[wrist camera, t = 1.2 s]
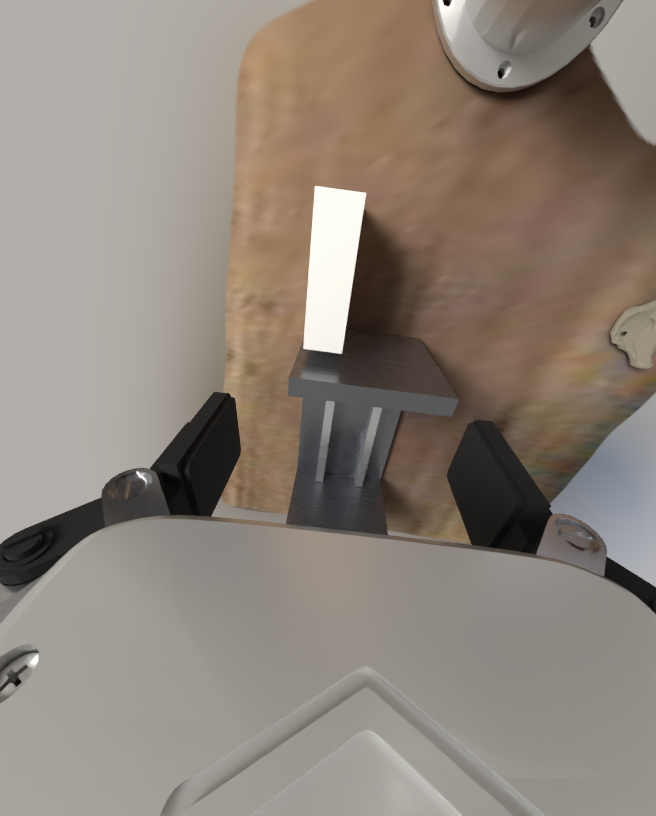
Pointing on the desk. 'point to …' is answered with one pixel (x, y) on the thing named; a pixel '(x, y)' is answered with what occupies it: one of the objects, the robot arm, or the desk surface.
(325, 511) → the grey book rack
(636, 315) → the jawbone
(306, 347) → the door
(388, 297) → the desk surface
